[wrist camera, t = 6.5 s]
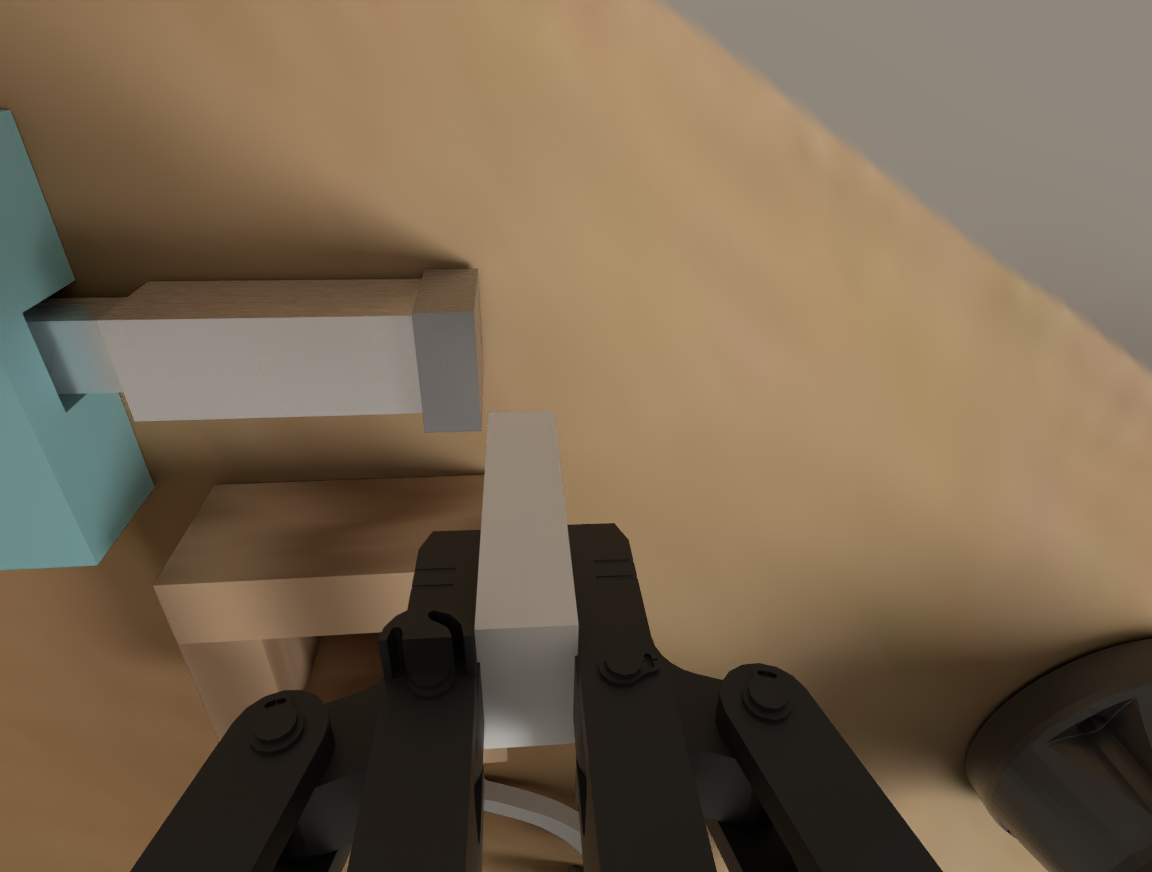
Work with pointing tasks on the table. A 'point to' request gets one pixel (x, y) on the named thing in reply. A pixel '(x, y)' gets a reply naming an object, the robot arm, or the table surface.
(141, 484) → the socket block
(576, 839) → the bike brake
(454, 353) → the pale gray faceted bar
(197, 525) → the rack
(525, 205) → the table surface
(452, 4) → the table surface
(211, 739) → the table surface
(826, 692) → the table surface
